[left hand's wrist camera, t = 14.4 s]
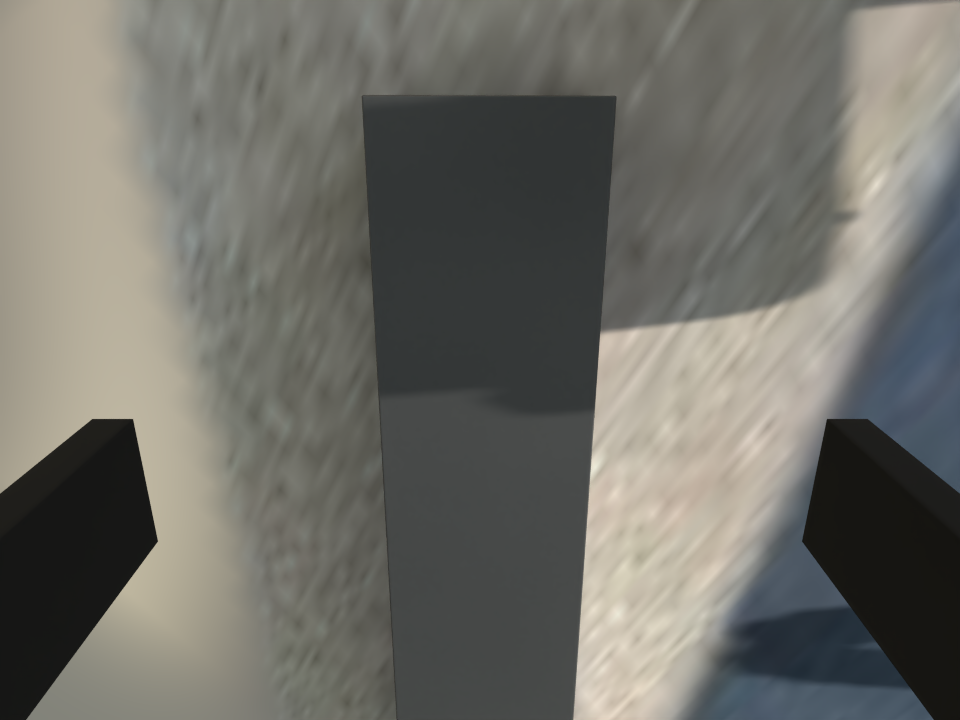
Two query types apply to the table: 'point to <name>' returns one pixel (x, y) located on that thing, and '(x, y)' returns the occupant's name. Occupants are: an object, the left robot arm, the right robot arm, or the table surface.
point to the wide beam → (487, 388)
